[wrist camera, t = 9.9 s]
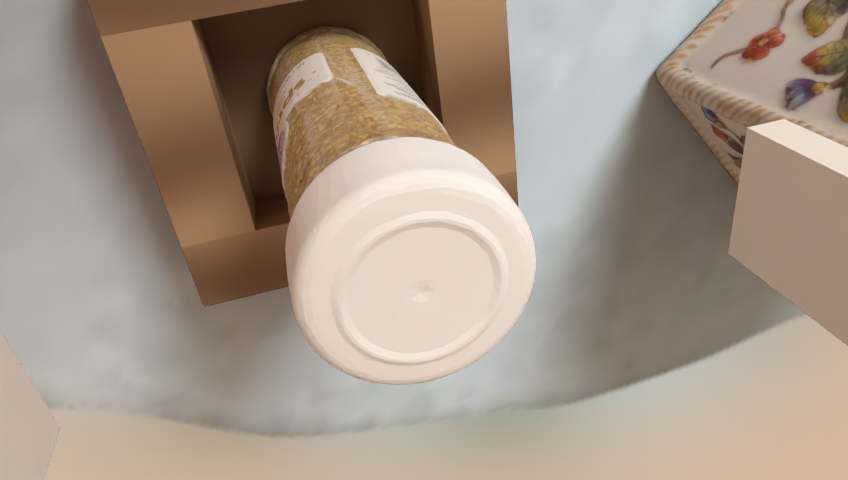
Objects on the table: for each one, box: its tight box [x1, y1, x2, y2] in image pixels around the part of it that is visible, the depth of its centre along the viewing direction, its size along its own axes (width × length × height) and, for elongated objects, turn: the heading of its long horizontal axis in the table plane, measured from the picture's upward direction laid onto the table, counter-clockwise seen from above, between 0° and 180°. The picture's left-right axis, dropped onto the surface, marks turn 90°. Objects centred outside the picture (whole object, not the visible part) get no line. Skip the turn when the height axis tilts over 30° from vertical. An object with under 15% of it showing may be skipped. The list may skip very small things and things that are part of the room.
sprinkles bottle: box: [266, 26, 536, 385], centre depth 17 cm, size 5×5×14 cm
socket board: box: [87, 0, 518, 307], centre depth 22 cm, size 12×12×3 cm
